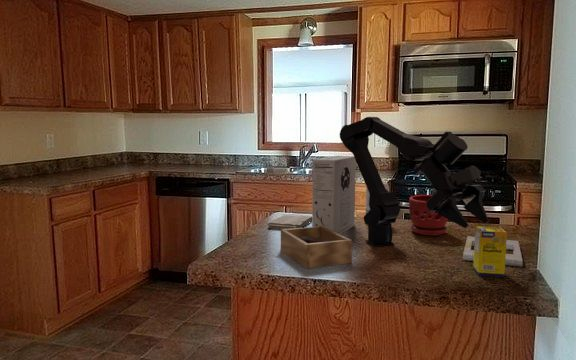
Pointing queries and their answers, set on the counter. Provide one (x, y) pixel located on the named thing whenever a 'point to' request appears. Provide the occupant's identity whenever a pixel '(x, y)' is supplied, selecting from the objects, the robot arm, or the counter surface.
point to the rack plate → (510, 258)
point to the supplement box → (490, 251)
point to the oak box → (316, 247)
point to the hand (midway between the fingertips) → (477, 224)
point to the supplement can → (369, 196)
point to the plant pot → (425, 217)
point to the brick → (313, 239)
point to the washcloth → (289, 222)
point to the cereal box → (334, 193)
